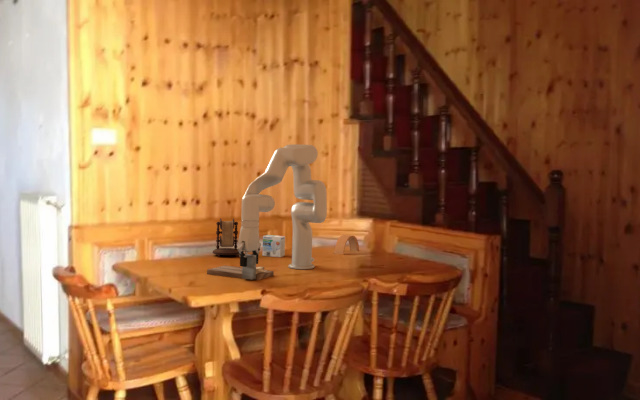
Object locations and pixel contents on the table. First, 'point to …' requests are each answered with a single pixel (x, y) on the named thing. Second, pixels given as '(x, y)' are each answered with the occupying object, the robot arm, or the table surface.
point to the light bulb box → (273, 246)
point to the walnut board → (236, 272)
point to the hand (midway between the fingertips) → (249, 264)
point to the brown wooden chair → (226, 238)
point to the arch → (342, 242)
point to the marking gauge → (251, 268)
